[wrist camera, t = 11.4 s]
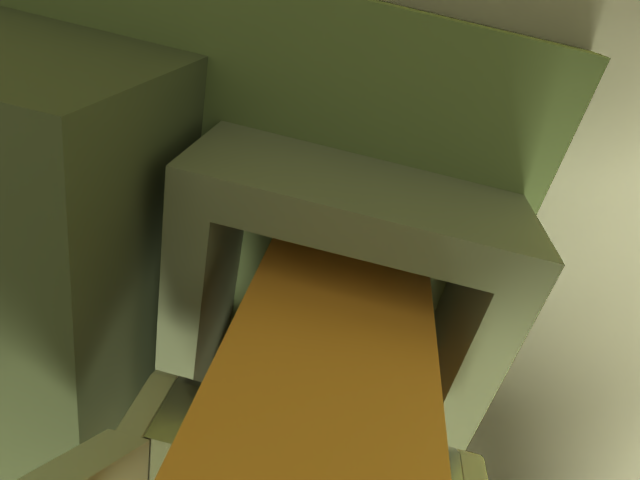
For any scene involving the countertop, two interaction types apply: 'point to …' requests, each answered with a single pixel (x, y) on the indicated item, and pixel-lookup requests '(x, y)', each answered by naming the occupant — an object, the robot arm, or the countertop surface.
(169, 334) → the green plate with frame
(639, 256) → the countertop surface
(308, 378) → the yellow box green face
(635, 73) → the countertop surface
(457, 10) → the countertop surface
